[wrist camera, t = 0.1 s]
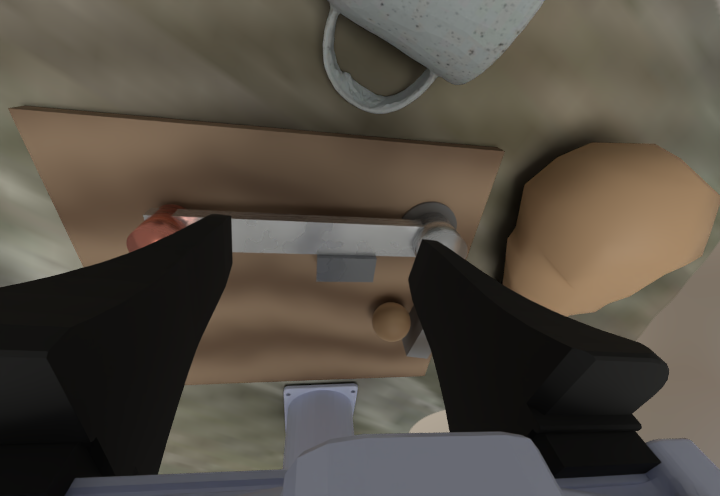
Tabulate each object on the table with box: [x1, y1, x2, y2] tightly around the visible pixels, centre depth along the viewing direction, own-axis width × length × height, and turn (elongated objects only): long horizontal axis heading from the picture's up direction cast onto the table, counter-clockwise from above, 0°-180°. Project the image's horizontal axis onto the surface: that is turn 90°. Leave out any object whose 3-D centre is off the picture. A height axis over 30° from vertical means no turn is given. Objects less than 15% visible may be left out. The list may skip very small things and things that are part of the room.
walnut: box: [372, 302, 411, 342], centre depth 25 cm, size 3×3×3 cm
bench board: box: [8, 106, 505, 385], centre depth 23 cm, size 24×28×4 cm
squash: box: [502, 142, 720, 317], centre depth 23 cm, size 11×20×9 cm, turn 174°
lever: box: [126, 204, 468, 282], centre depth 19 cm, size 20×5×3 cm, turn 84°
